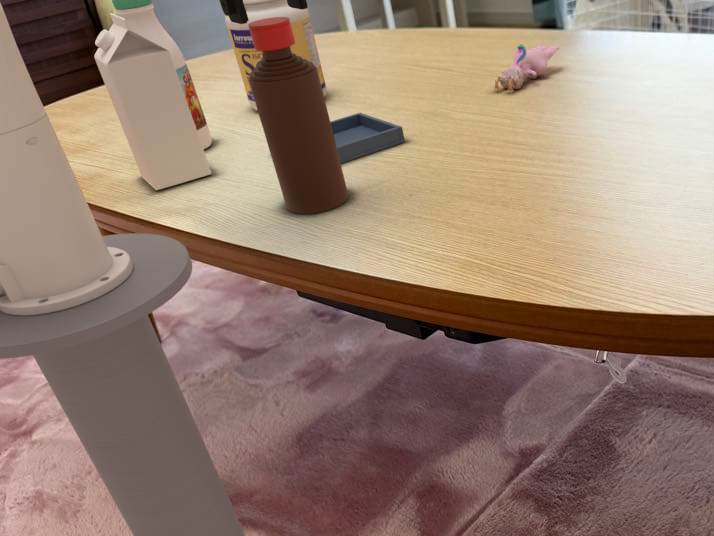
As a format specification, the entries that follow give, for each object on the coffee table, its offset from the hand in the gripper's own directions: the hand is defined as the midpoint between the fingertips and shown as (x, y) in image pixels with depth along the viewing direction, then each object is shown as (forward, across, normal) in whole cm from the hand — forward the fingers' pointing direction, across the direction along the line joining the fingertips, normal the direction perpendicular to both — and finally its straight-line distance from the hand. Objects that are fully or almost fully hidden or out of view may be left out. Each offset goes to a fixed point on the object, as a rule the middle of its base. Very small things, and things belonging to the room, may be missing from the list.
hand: (269, 13), depth 80 cm
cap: (+1, 0, 0) cm, 1 cm away
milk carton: (+20, -8, +24) cm, 32 cm away
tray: (+20, +10, +15) cm, 27 cm away
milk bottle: (+20, -4, +35) cm, 40 cm away
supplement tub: (+20, +16, +43) cm, 50 cm away
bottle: (+20, 0, 0) cm, 20 cm away
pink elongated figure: (+20, +46, +18) cm, 53 cm away
